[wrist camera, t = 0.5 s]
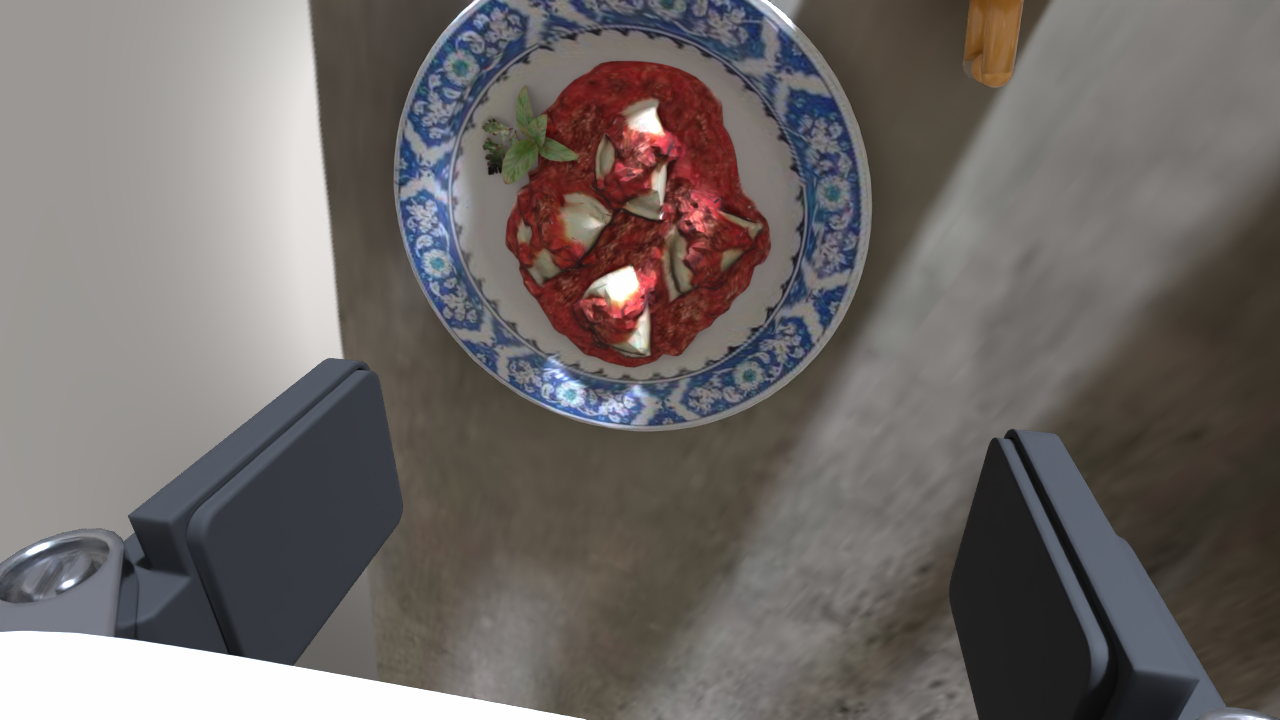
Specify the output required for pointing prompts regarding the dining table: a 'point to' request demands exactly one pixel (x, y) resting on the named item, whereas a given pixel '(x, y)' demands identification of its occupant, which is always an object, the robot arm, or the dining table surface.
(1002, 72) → the mug
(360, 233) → the dining table surface
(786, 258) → the ceramic plate
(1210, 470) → the dining table surface
